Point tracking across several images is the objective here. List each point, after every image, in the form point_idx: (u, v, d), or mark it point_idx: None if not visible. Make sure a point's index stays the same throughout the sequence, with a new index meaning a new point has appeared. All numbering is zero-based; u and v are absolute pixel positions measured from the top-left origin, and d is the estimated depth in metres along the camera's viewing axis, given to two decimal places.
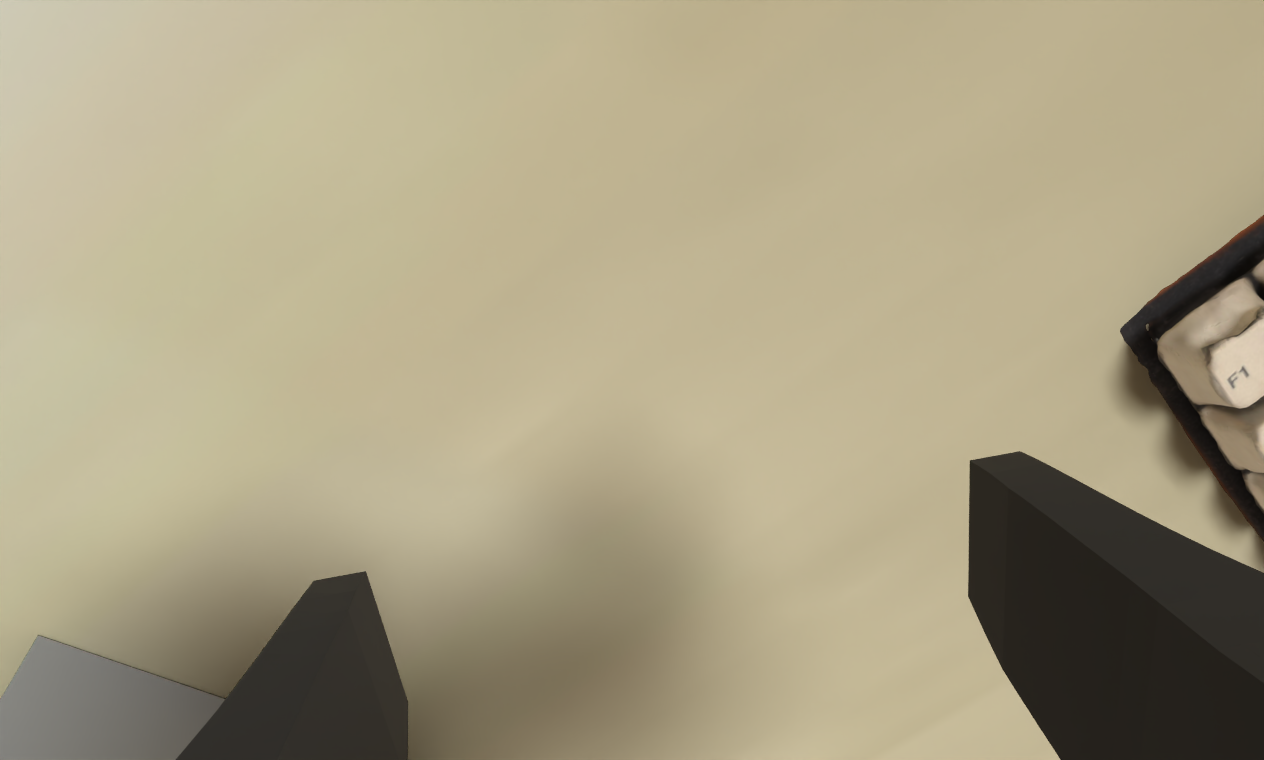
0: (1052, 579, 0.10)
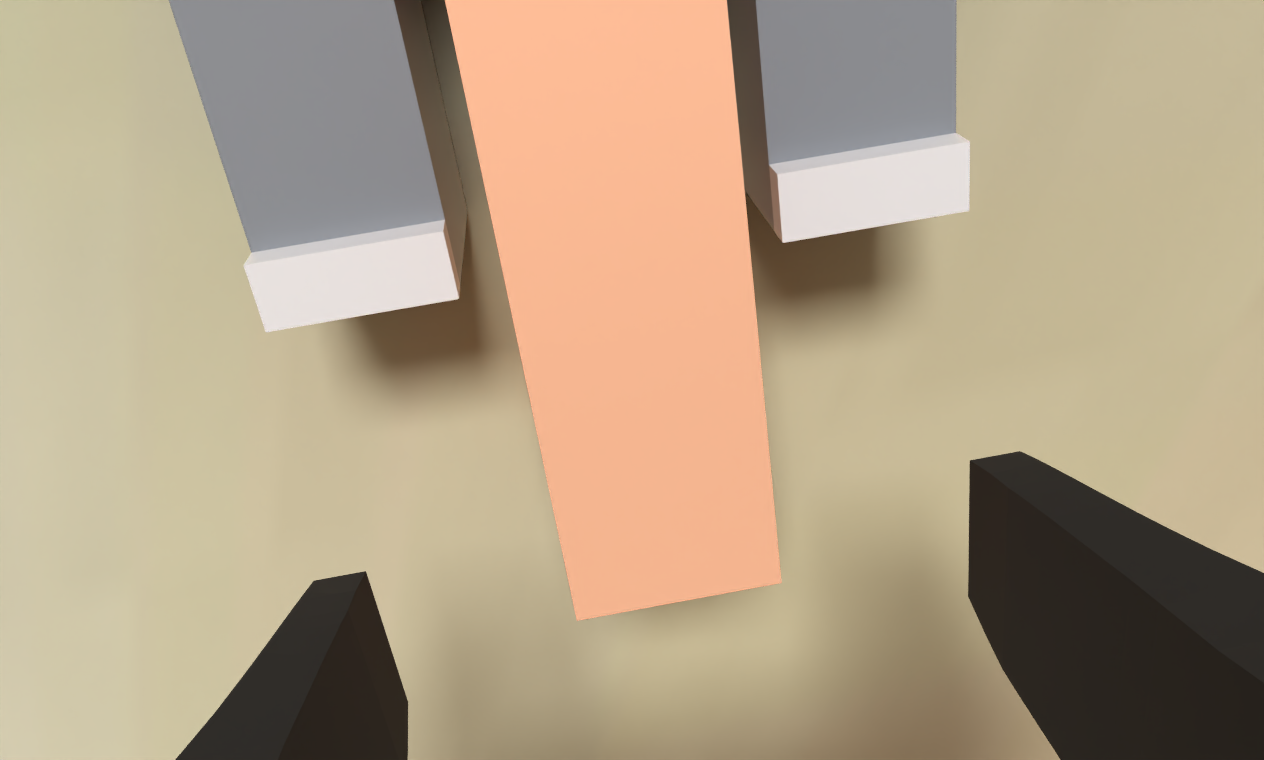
0: (1052, 579, 0.10)
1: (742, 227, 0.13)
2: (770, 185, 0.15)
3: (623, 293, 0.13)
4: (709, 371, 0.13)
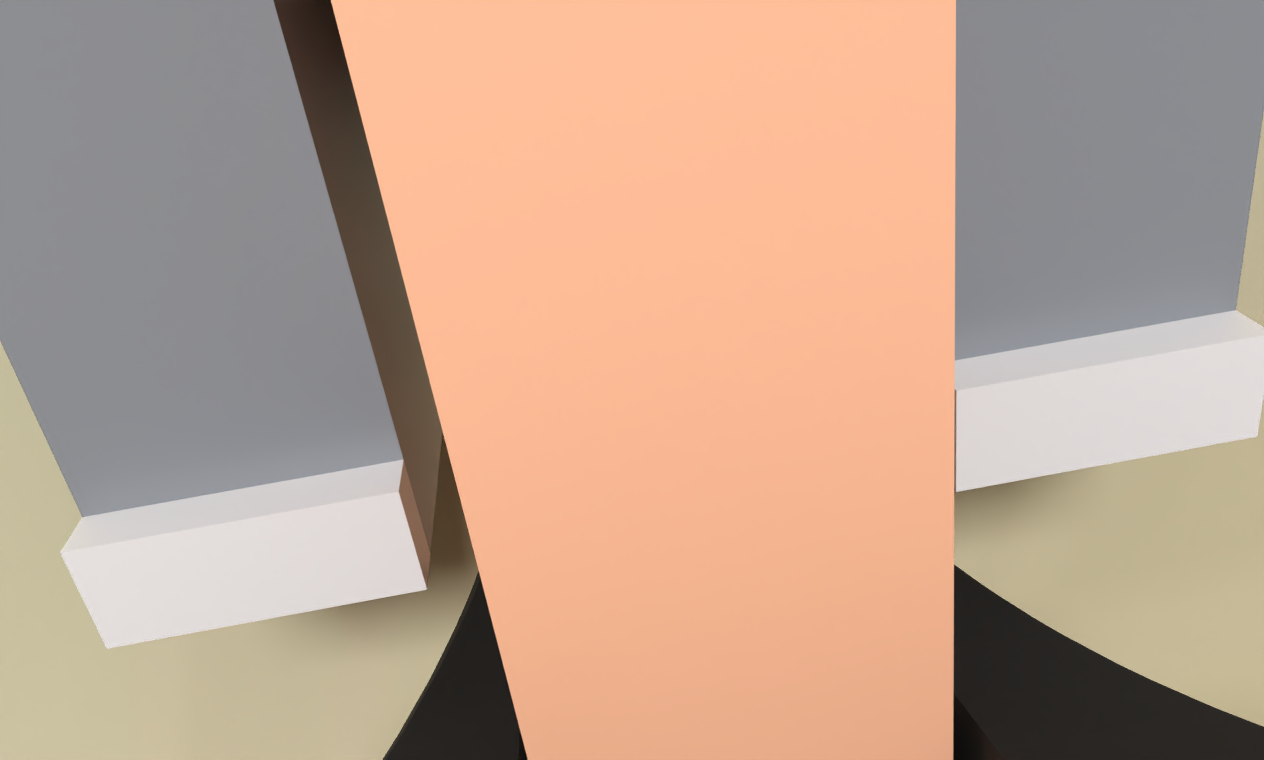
0: None
1: (942, 544, 0.07)
2: None
3: (719, 656, 0.07)
4: None
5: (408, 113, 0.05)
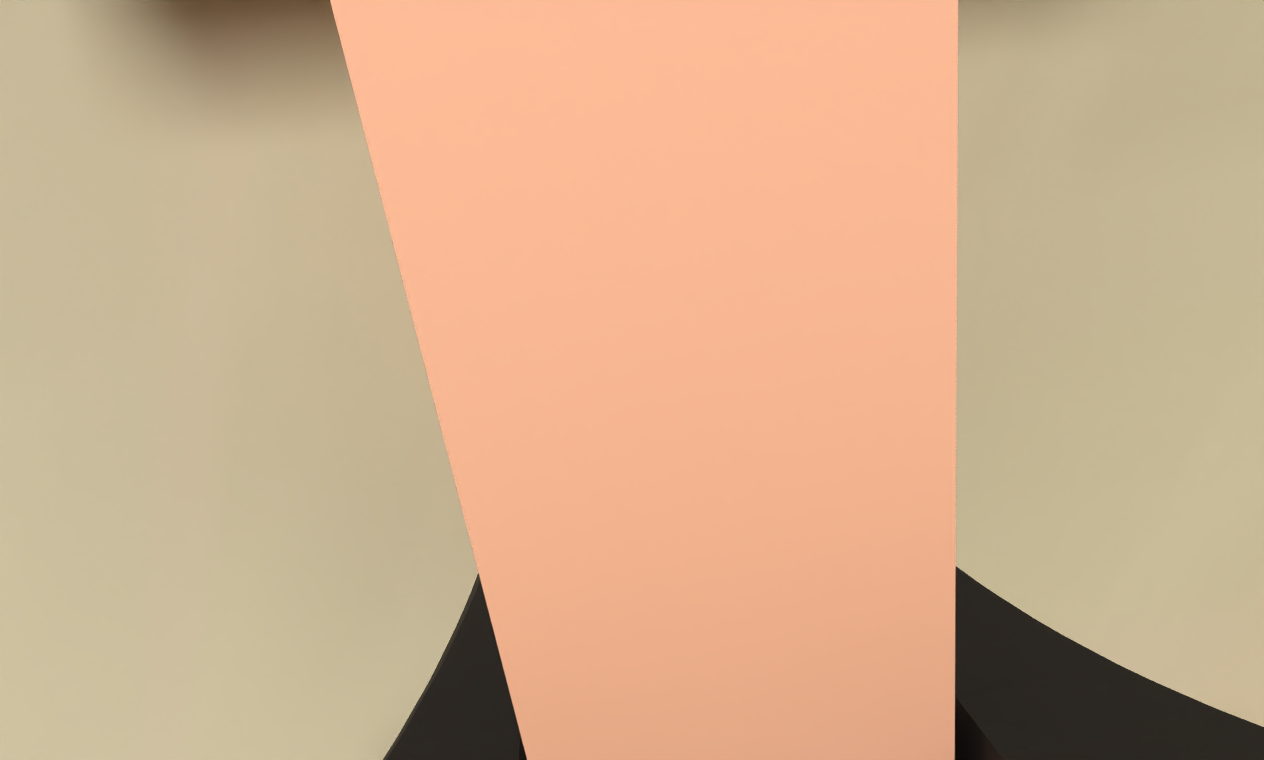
0: None
1: (944, 540, 0.07)
2: None
3: (719, 654, 0.07)
4: None
5: (406, 103, 0.05)
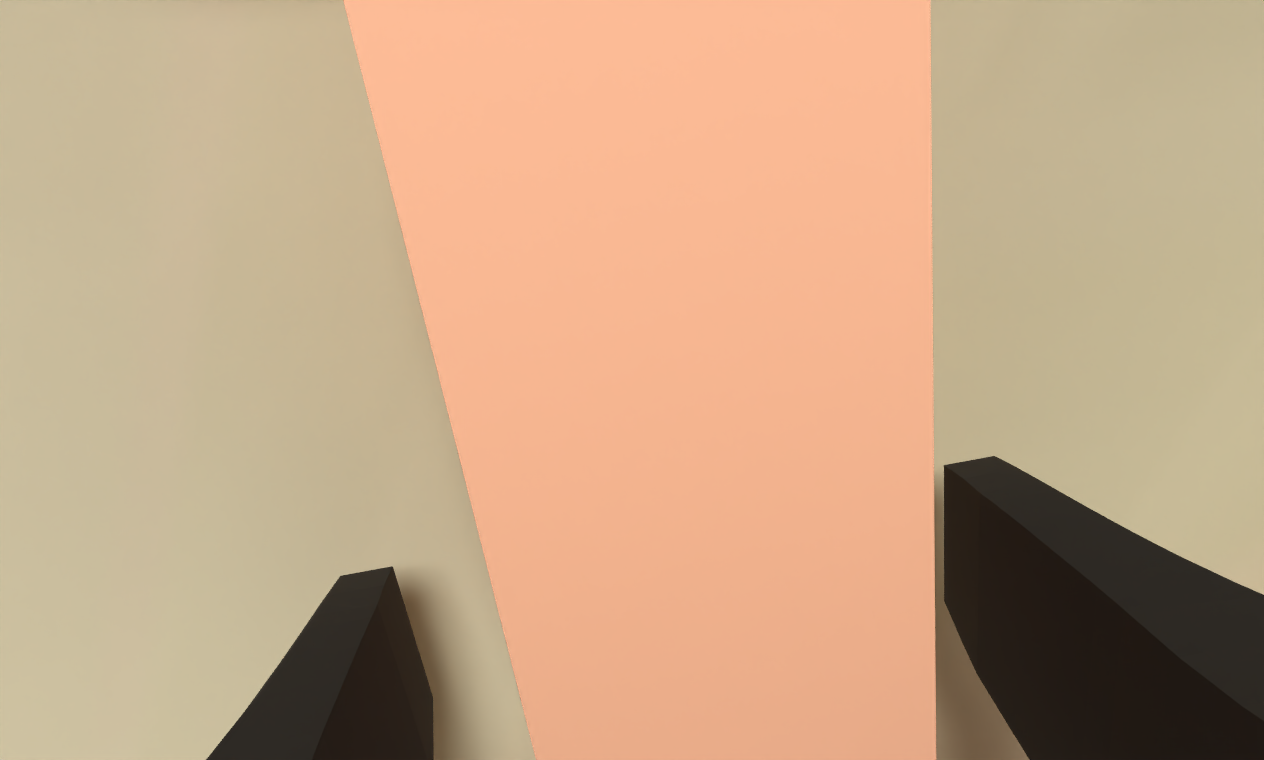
0: (1023, 585, 0.10)
1: (924, 511, 0.07)
2: None
3: (708, 620, 0.07)
4: (848, 728, 0.08)
5: (415, 94, 0.05)
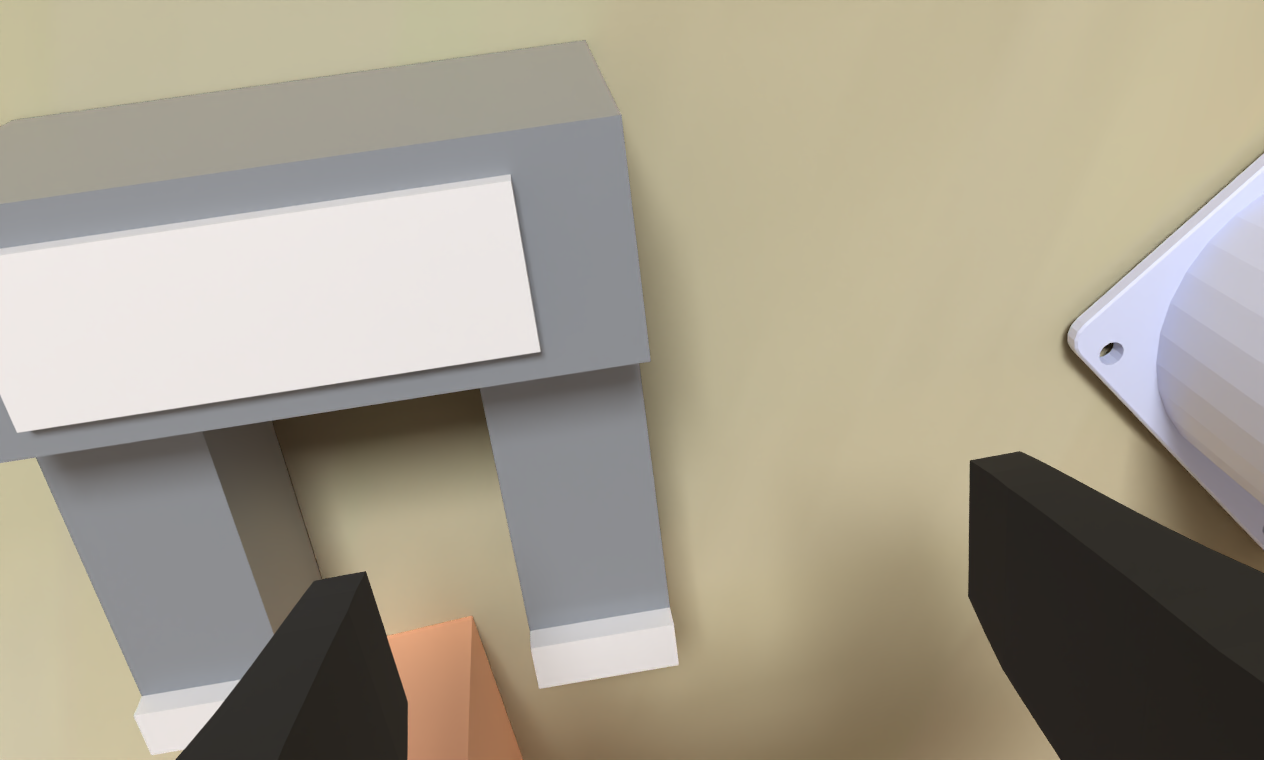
0: (1053, 579, 0.10)
1: None
2: None
3: None
4: None
5: None
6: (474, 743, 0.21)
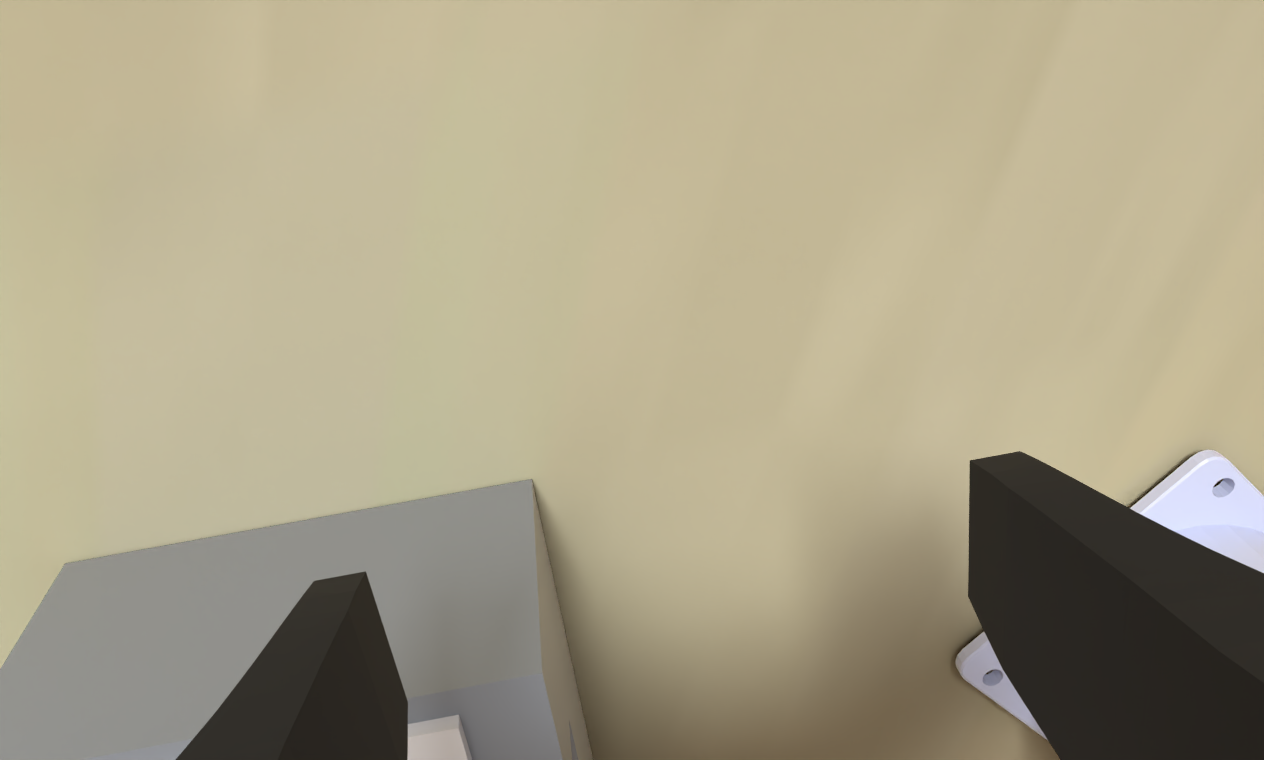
0: (1052, 579, 0.10)
1: None
2: None
3: None
4: None
5: None
6: None
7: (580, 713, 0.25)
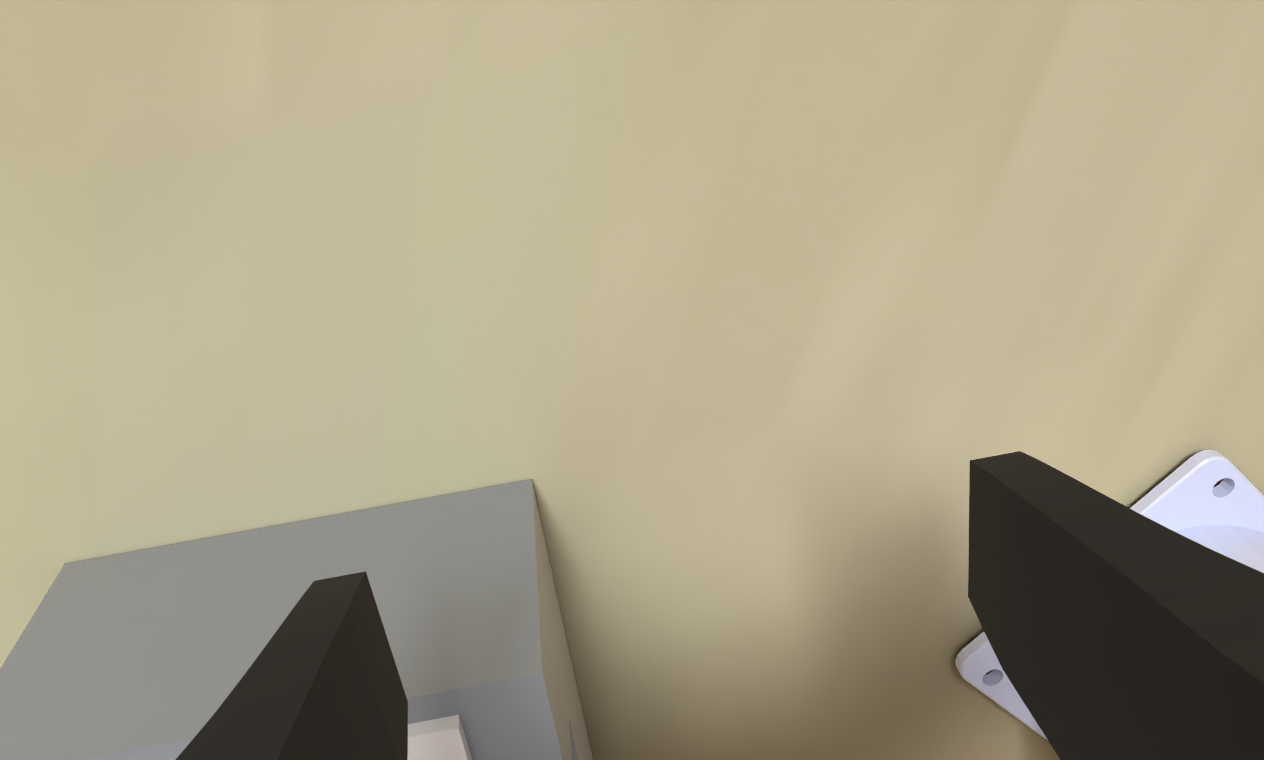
0: (1052, 579, 0.10)
1: None
2: None
3: None
4: None
5: None
6: None
7: (580, 713, 0.25)
